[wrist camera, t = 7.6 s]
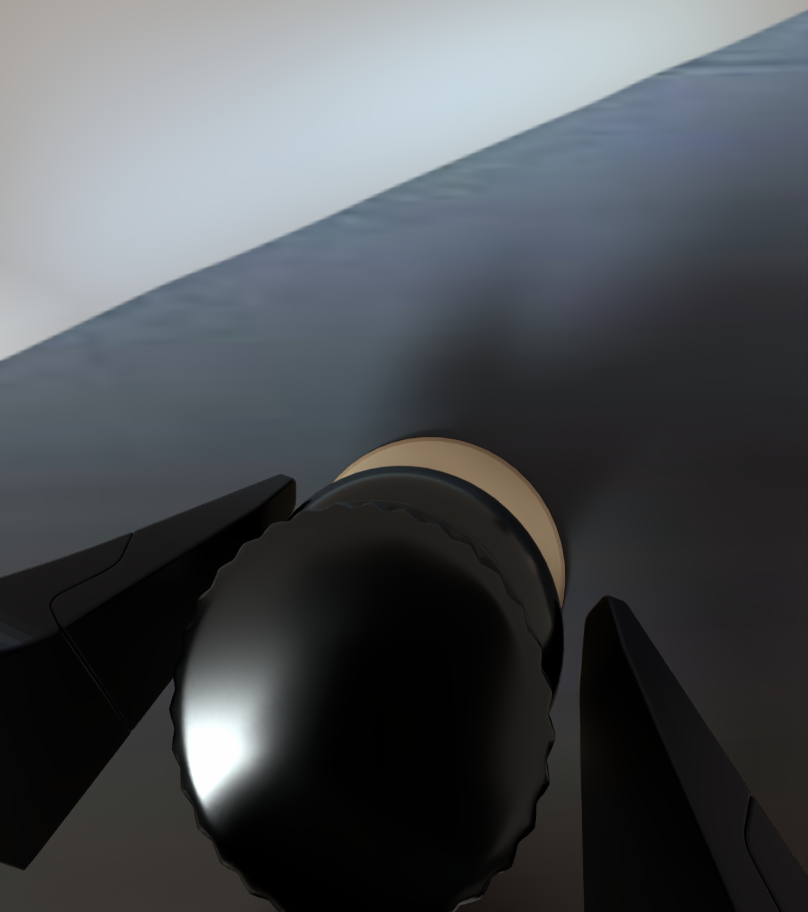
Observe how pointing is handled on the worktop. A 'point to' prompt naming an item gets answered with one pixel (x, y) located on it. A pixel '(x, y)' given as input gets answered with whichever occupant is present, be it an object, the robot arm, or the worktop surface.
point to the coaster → (483, 474)
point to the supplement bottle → (372, 697)
